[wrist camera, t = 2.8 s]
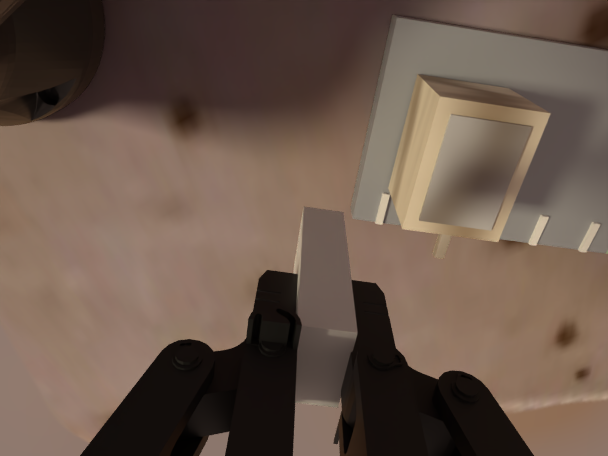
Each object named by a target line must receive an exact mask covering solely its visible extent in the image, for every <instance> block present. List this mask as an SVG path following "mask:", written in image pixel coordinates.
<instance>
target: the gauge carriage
mask: <svg viewBox="0 0 608 456" xmlns="http://www.w3.org/2000/svg"><path fill="white" fill-rule="evenodd" d="M550 114H551V113H549V112H548V111H546V110H544V109H543V108H541V107H539V106H538V105H536V104H534V103H533V102H531V101H529V100H528V99H526V98H524V97H523V96H521V95H519V94H518V93H516V92H514V91H513V90H511V89H509V88H504V87H498V86H491V85H485V84H478V83H472V82H465V81H459V80H452V79H446V78H440V77H433V76H427V75H420V74H417V78H416V81H415V85H414V89H413V93H412V97H411V101H410V105H409V109H408V113H407V117H406V121H405V124H404V128H403V132H402V136H401V140H400V144H399V148H398V152H397V156H396V160H395V164H394V167H393V171H392V175H391V179H390V183H389V187H388V189H389V192H390V195H391V198H392V201H393V204H394V206H395V209H396V212H397V215H398V218H399V221H400V224H401V227H402V229H406V230H414V231H421V232H428V233H436V234H438V237H437V240H436V243H435V246H434V249H433V252H432V253H433V255H434V258H440V259H444V257H445V254H446V251H447V248H448V245H449V242H450V239H451V237H452V236H458V237H465V238H472V239H480V240H487V241H494V242H498V241H499V239H500V236H501V234H502V231H503V229H504V226H505V224H506V222H507V219H508V217H509V214H510V212H511V209H512V207H513V205H514V202H515V200H516V197H517V195H518V192H519V190H520V187H521V185H522V183H523V180H524V178H525V175H526V173H527V170H528V168H529V165H530V163H531V161H532V158H533V156H534V153H535V151H536V148H537V146H538V144H539V141H540V139H541V136H542V134H543V131H544V129H545V126H546V124H547V122H548V119H549V117H550Z"/></svg>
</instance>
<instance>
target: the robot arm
mask: <svg viewBox="0 0 608 456" xmlns="http://www.w3.org/2000/svg"><path fill="white" fill-rule="evenodd" d="M104 31H105V27H104V12H103V5H102V0H0V126H13V125H21V124H26V123H30V122H34V121H37V120H40V119H42V118H45V117H47V116H49V115H51V114H53V113H54V112H56V111H58V110H60V109H62V108H64V107H65V106H67V105H69V104H70V103H71V102H73V101H74V100H75V99H76V98H77V97H78V96H80V95H81V93H82V92H83V91H84V90H85V89H86V87H87V86H88V85H89V83H90V82H91V80H92V78H93V77H94V75H95V72H96V70H97V68H98V65H99V62H100V59H101V55H102V50H103V44H104ZM340 398H341V402H342V411H341V415H340V419H339V423H338V426H337V430H336V434H335V438H334V444H338V440H339V445H340V446H339V447H340V456H534V455H533V454H532V452H531V451H530V449H529V448H528V446H527V445H526V443H525V442H524V441H523V439H522V438H521V436H520V435H519V433H518V432H517V431H516V429H515V427H514V426H513V424H512V423H511V422H510V420H509V419H508V417H507V416H506V414H505V413H504V411H503V410H502V408H501V407H500V406H499V404H498V403H497V401H496V400H495V398H494V397H493V395H492V394H491V392H490V391H489V390H488V388H487V387H486V386H485V385H484V384H483V383H482V382H481V381H480V380H478V379H477V378H475V377H474V376H472V375H470V374H467V373H465V372H462V371H448V372H444V373H443V374H442V375H441V376H440V377H439V379H435V378H433V377H430V376H427V375H425V374H422V373H420V372H418V371H416V370H414V369H412V368H411V367H409V366H408V364H407V362H406V360H405V357H404V356H403V355H402V354H401V353H400V352H399V351H398V350H397V349H396V347H395V342H394V337H393V333H392V328H391V323H390V319H389V316H388V309H387V307H386V300H385V295H384V293H383V292H382V291H381V289H380V288H379V287H378V285H377V284H376V283H370V282H362V281H354V280H351V272H350V264H349V255H348V247H347V238H346V230H345V221H344V213H343V212H339V211H332V210H325V209H317V208H310V207H303V213H302V220H301V226H300V232H299V238H298V245H297V251H296V257H295V263H294V272H293V273H285V272H278V271H270V270H267V271H266V272H265V273H264V274H263V275H262V276H261V277H260V278H259V282H258V287H257V292H256V298H255V303H254V309H253V312H252V313H251V315H250V317H249V319H248V328H247V337H246V339H245V340H244V342H242V343H241V344H240V345H238V346H236V347H234V348H231V349H227V350H222V351H215V352H213V350H212V349H211V348H210V347H209V346H208V345H207V344H205V343H203V342H201V341H198V340H191V339H187V340H179V341H176V342H174V343H171V344H169V345H168V346H167V347H166V348H164V349H163V350H162V351H161V352H160V354H159V355H158V356H157V358H156V359H155V360H154V361H153V363H152V364H151V365H150V367H149V368H148V369H147V370H146V372H145V373H144V374H143V376H142V377H141V378H140V379H139V381H138V382H137V383H136V385H135V386H134V387H133V388H132V390H131V391H130V392H129V394H128V395H127V396H126V397H125V399H124V400H123V401H122V403H121V404H120V405H119V406H118V408H117V409H116V410H115V411H114V413H113V414H112V415H111V417H110V418H109V419H108V420H107V422H106V423H105V424H104V426H103V427H102V428H101V429H100V431H99V432H98V433H97V435H96V436H95V437H94V438H93V440H92V441H91V442H90V444H89V445H88V446H87V447H86V449H85V450H84V451H83V453H82V454H81V455H80V456H199V455H200V453H201V451H202V449H203V447H204V445H205V443H206V442H207V440H208V437H209V435H214V434H218V433H223V432H229V431H230V432H229V437H228V443H227V448H226V453H225V456H293V439H294V416H295V403H303V404H311V405H320V406H328V407H338V405H339V402H340Z"/></svg>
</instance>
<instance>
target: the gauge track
mask: <svg viewBox="0 0 608 456" xmlns="http://www.w3.org/2000/svg"><path fill="white" fill-rule="evenodd" d="M417 74H420V75H427V76H433V77H440V78H446V79H452V80H459V81H465V82H472V83H478V84H485V85H491V86H498V87H504V88H509V89H511V90H513V91H514V92H516V93H518V94H519V95H521V96H523V97H524V98H526V99H528V100H529V101H531V102H533V103H534V104H536V105H538V106H539V107H541V108H543V109H544V110H546V111H548V112H549V113H551V114H550V117H549V119H548V122H547V124H546V126H545V129H544V131H543V134H542V136H541V139H540V141H539V144H538V146H537V148H536V151H535V153H534V156H533V158H532V161H531V163H530V165H529V168H528V170H527V173H526V175H525V178H524V180H523V183H522V185H521V187H520V190H519V192H518V195H517V197H516V200H515V202H514V205H513V207H512V209H511V212H510V214H509V217H508V219H507V222H506V224H505V226H504V229H503V231H502V234H501V236H500V239H503V240H511V241H518V242H525V243H529V245H534V246H536V245H537V244H540V245H547V246H555V247H562V248H569V249H577V250H579V251H580V252H585V253H586V252H587V251H591V252H598V253H606V254H608V49H602V48H595V47H589V46H583V45H577V44H571V43H564V42H558V41H552V40H546V39H540V38H533V37H527V36H521V35H515V34H509V33H503V32H496V31H490V30H484V29H478V28H472V27H465V26H459V25H453V24H447V23H441V22H434V21H428V20H422V19H416V18H410V17H404V16H397V15H392V18H391V23H390V27H389V32H388V37H387V41H386V46H385V51H384V55H383V60H382V64H381V69H380V74H379V78H378V83H377V87H376V92H375V97H374V101H373V106H372V111H371V115H370V120H369V124H368V129H367V134H366V138H365V143H364V147H363V152H362V157H361V161H360V166H359V171H358V175H357V180H356V184H355V189H354V194H353V198H352V203H351V213H352V219H357V220H365V221H372V222H375V223H376V224H380V225H382V224H383V223H387V224H394V225H401V224H400V221H399V218H398V215H397V212H396V209H395V206H394V204H393V201H392V198H391V195H390V192H389V189H388V187H389V183H390V179H391V175H392V171H393V167H394V164H395V160H396V156H397V152H398V148H399V144H400V140H401V136H402V132H403V128H404V124H405V121H406V117H407V113H408V109H409V105H410V101H411V97H412V93H413V89H414V85H415V81H416V78H417Z"/></svg>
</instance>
